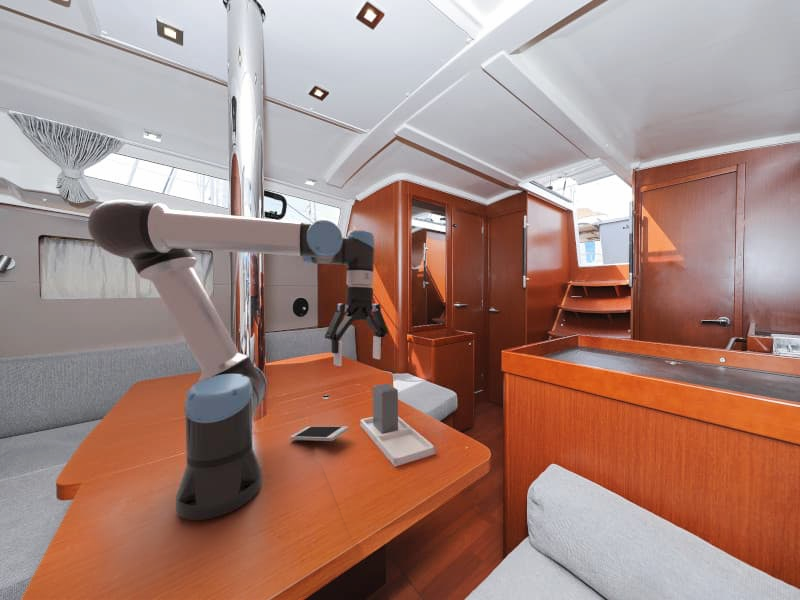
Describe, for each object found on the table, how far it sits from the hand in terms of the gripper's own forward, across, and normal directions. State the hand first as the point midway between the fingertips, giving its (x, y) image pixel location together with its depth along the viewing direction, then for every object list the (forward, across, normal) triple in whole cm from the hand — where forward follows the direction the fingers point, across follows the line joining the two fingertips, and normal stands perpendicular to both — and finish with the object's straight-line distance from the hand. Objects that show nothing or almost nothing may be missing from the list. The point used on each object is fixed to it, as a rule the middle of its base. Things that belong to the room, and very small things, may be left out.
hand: (358, 361), depth 80 cm
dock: (+21, +7, -8) cm, 24 cm away
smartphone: (+20, -6, -1) cm, 21 cm away
